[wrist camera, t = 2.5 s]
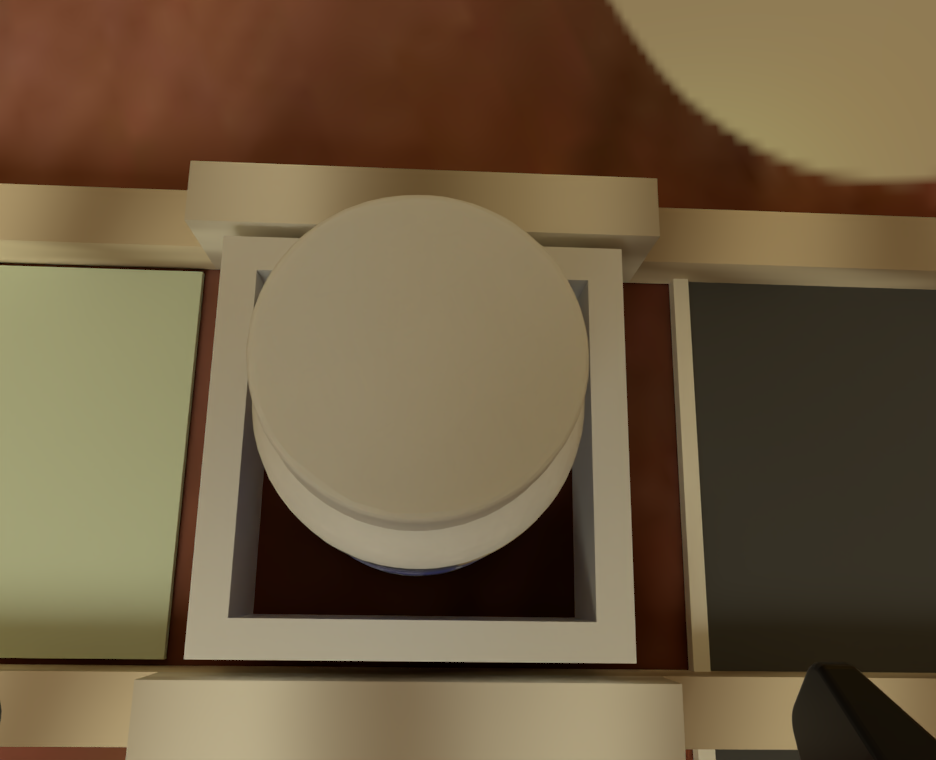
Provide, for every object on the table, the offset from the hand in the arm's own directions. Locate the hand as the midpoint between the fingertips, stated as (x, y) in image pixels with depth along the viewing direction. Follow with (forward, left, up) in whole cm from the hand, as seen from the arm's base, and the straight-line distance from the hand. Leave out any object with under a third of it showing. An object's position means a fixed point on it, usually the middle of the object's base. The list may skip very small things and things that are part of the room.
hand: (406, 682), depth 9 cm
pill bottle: (+2, -4, -11) cm, 12 cm away
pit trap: (-7, -9, -11) cm, 16 cm away
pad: (+11, +1, -11) cm, 15 cm away
